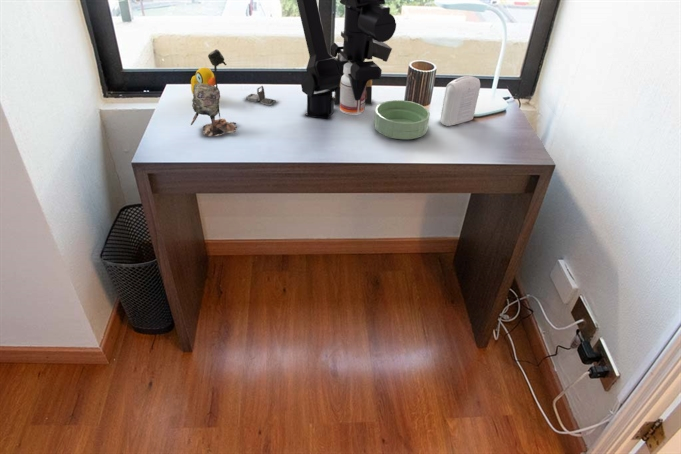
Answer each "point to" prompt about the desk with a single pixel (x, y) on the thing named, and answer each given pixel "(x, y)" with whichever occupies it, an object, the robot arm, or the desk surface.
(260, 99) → the strap clip
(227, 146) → the desk surface
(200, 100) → the rough stone-bodied figurine
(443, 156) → the desk surface
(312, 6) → the robot arm
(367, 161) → the desk surface
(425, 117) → the bowl
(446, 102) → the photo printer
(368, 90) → the ammunition clip
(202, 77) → the duckling
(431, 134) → the desk surface
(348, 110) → the pill bottle
